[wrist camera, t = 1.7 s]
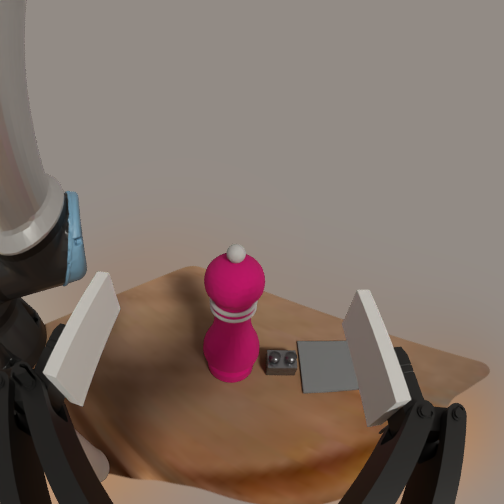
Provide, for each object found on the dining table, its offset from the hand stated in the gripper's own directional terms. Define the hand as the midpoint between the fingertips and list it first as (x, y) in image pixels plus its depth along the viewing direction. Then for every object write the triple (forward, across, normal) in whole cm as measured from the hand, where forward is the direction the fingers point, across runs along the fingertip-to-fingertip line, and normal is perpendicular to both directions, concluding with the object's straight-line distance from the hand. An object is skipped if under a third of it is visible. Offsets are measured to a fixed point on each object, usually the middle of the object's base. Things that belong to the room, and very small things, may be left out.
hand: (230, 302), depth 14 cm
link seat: (+11, +14, -24) cm, 30 cm away
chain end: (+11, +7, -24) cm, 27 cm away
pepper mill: (+11, 0, -24) cm, 26 cm away
